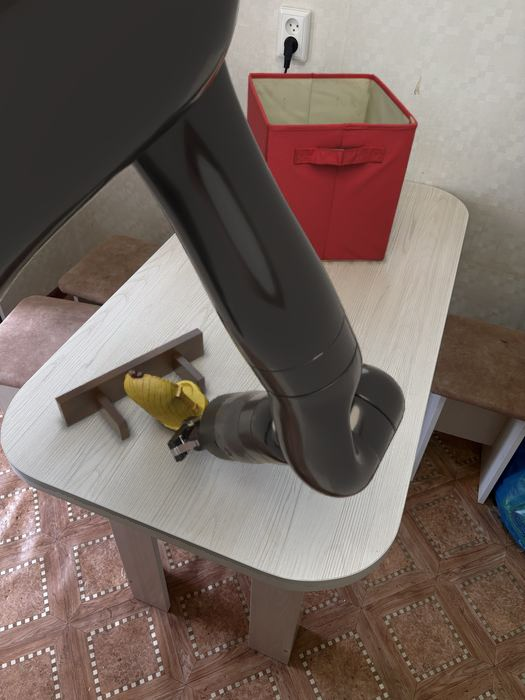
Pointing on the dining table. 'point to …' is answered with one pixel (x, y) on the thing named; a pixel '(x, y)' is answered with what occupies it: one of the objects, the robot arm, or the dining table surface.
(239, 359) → the dining table surface
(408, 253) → the dining table surface
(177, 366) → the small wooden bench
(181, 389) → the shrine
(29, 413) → the dining table surface
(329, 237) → the storage cube
